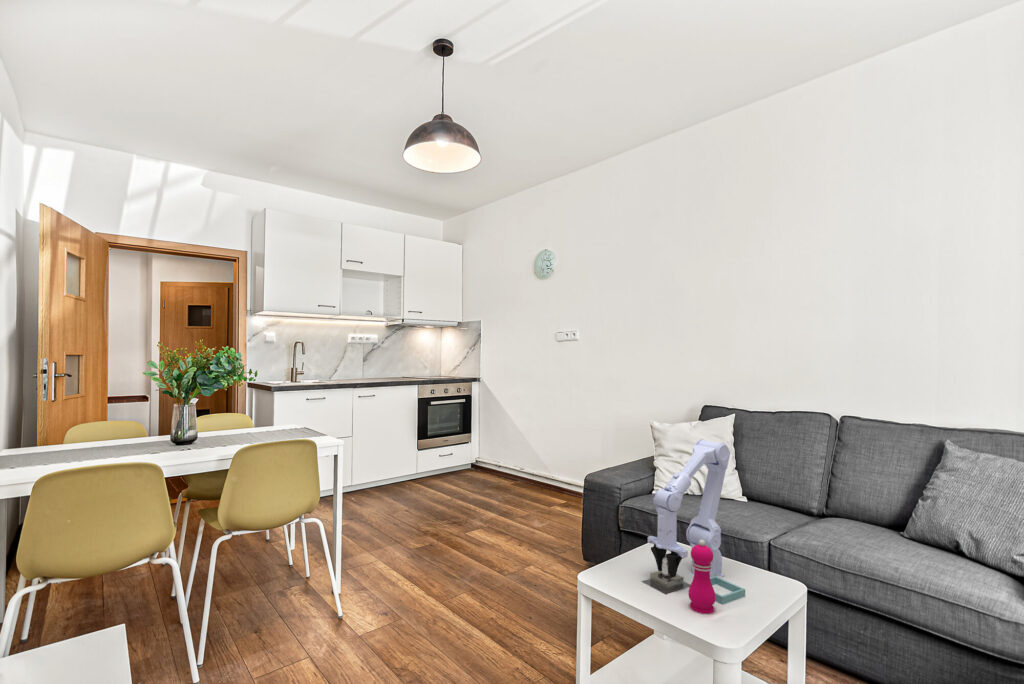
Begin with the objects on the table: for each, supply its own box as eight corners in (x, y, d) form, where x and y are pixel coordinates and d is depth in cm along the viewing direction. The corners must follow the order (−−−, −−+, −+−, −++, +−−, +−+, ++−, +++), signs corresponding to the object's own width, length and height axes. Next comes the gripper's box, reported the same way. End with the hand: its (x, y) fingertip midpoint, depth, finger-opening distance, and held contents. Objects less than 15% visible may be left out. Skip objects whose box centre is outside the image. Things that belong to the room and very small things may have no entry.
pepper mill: (701, 620, 136) (701, 546, 136) (682, 608, 142) (682, 537, 143) (721, 615, 138) (721, 542, 139) (702, 603, 145) (702, 534, 146)
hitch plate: (668, 576, 163) (668, 565, 163) (692, 589, 154) (692, 577, 154) (641, 584, 157) (641, 573, 157) (665, 597, 148) (665, 585, 148)
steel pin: (666, 580, 158) (666, 553, 158) (673, 584, 155) (674, 556, 155) (659, 582, 156) (659, 555, 156) (667, 586, 154) (667, 558, 154)
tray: (715, 585, 157) (715, 576, 157) (745, 599, 148) (745, 589, 148) (692, 593, 152) (692, 583, 152) (722, 607, 143) (722, 597, 143)
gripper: (640, 524, 160) (640, 567, 160) (676, 538, 148) (676, 585, 147) (656, 521, 164) (656, 562, 164) (692, 534, 152) (692, 580, 151)
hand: (666, 573), depth 156 cm, fingers open, 4 cm apart
